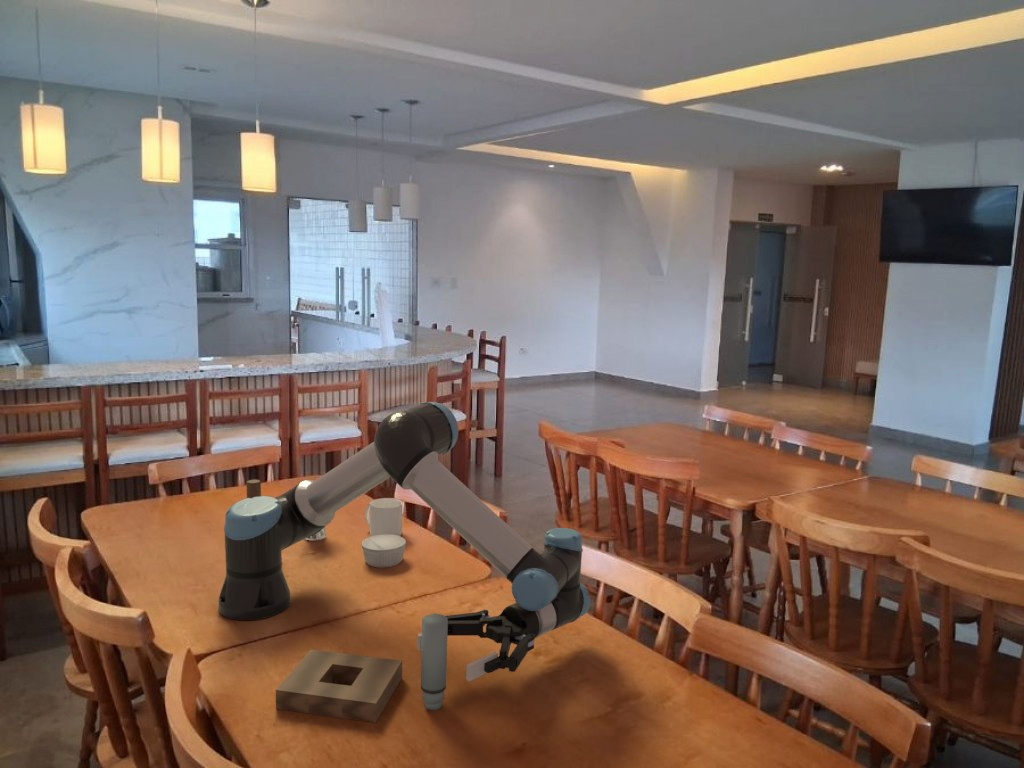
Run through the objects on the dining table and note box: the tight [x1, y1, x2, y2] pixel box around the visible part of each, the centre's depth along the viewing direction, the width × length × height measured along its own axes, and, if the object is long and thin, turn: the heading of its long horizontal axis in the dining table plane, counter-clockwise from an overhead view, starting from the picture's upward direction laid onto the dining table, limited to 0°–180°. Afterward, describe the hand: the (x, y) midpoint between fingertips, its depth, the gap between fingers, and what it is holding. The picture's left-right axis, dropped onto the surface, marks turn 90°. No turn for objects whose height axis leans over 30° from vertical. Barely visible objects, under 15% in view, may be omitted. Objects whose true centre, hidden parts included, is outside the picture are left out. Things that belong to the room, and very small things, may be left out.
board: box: [275, 649, 403, 724], centre depth 133 cm, size 18×14×4 cm
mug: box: [364, 497, 403, 537], centre depth 212 cm, size 12×9×9 cm
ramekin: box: [361, 535, 407, 569], centre depth 193 cm, size 11×11×5 cm
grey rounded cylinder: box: [420, 613, 448, 711], centre depth 129 cm, size 4×4×16 cm
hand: (442, 657), depth 130 cm, fingers open, 13 cm apart
